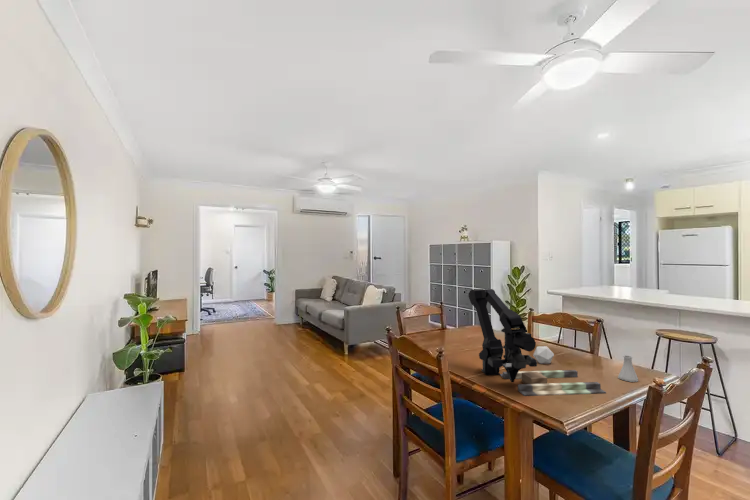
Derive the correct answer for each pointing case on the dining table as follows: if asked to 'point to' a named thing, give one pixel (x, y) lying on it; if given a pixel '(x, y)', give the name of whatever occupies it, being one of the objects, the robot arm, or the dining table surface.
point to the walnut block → (533, 378)
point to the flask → (628, 370)
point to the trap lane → (556, 384)
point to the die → (543, 354)
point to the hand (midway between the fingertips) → (512, 382)
